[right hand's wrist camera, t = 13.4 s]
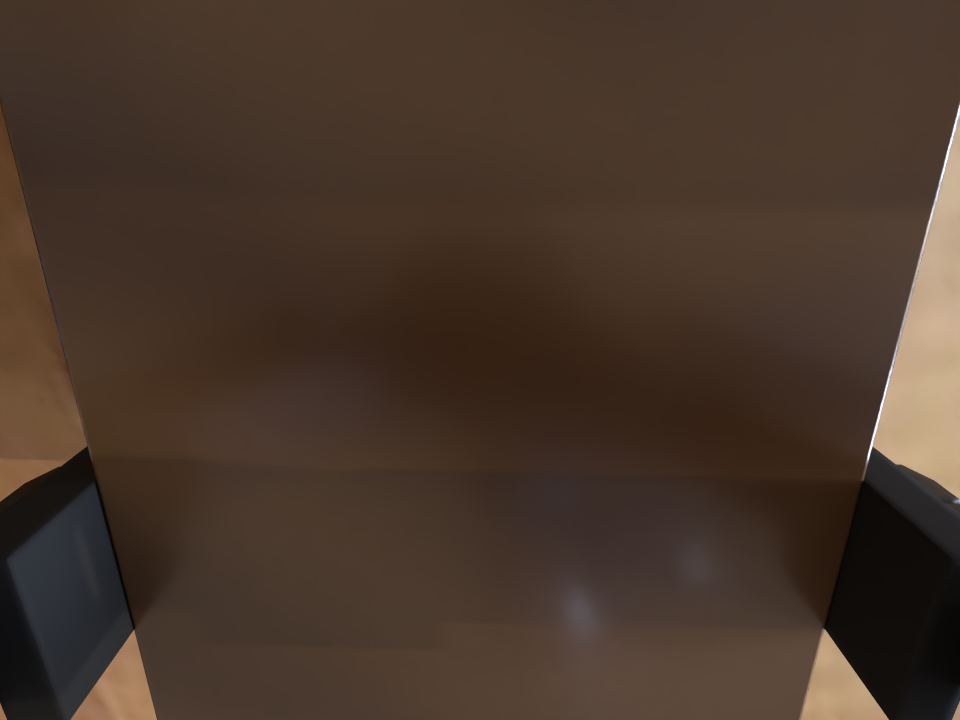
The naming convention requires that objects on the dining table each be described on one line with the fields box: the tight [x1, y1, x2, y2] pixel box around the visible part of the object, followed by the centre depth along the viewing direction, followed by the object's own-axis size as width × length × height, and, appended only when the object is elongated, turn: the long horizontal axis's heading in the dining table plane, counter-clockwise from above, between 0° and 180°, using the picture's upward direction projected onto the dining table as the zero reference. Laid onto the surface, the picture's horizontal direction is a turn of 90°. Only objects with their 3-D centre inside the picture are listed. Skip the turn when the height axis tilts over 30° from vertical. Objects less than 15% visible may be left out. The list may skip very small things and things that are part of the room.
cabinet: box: [0, 0, 960, 720], centre depth 12 cm, size 17×11×10 cm, turn 0°
